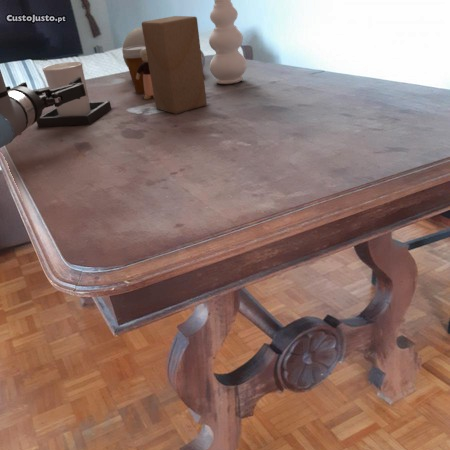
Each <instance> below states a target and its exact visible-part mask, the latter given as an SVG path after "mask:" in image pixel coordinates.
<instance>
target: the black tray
mask: <svg viewBox="0 0 450 450" xmlns="http://www.w3.org/2000/svg"><path fill="white" fill-rule="evenodd" d="M89 103H90V109H91V112H89V113H88V114H86V115H77V116H59V115H58V112H57V109H56V107H55V106H54V107H53V108H52V109H50V110H48V111H46V112H45V113H42V115H41V117H40V119H39V120H38V121H36V122H35V123H36V124H37V128H43V127H44V128H46V127H64V126H65V127H66V126H87V125H89V126H90V125H91V124H92V123H94V122H95V121H97V120H98V119H99V118H100V117H102V116H103V115H105V114H106V113H108V112H110V111H111V110H112V105H111V101H110V100H101V101H89Z"/></svg>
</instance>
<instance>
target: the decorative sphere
mask: <svg viewBox="0 0 450 450" xmlns="http://www.w3.org/2000/svg"><path fill="white" fill-rule="evenodd" d="M137 45H145V41H144V35H143V30H142V26H139V27H135V28H134V29H132V30H131V31H129V33H127V35H126V37H125V38H124V41H123V44H122V57H123V58H122V59H123V61H124V63H125V65H126V67H127V68H128V65H127V62H126V59H125V58H124V56H123V54H124V49H125V48H127V47H131V46H137Z"/></svg>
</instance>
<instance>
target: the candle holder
mask: <svg viewBox="0 0 450 450" xmlns="http://www.w3.org/2000/svg"><path fill="white" fill-rule="evenodd" d="M42 73H43V74H44V75H43V76H44V77H45V81H46V83H47V87H48V89H49V90H52V89H56V88H60V87H63V86H67V85H69V83H70V82H72V81H73V80H75V79H76V78H77V77H81V80H82V83H83V85H84V89H85V92H86V96H83V97H80V99H75V100H72V101H70V102H67V103H64V104H62V105H61V106H59V107H56V109H57V112H58V115H59V116H77V115H86V114H88V113H89V112H91V109H90V103H89V102H90V98H89V94H88V89H87V83H86V78H85V74H84V68H83V63H82V62H81V61H66V62H59V63H54V64H51V65H50V64H49V65H47V66H44V67H42Z"/></svg>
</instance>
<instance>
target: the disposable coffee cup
mask: <svg viewBox="0 0 450 450" xmlns="http://www.w3.org/2000/svg"><path fill="white" fill-rule="evenodd" d="M143 48H146V47H145V45H137V46H131V47H127V48H125V49H124V54H123V53H122V57H123V56H124V58H125V59H126V62H127V65H128V67H127V68H128V72H129V75H130V78H131V81H132V84H133V88H134V91H135V94H139V95H145V91H144V83H143V72H142V73H141V74H140V78H139V80H137V79H136V76H137V70H138V68H139V66H140V65H141V63H144V61H143V60H142V58H141V56H140V51H141V50H142V49H143ZM124 58H123V59H124ZM127 65H126V66H127Z"/></svg>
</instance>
